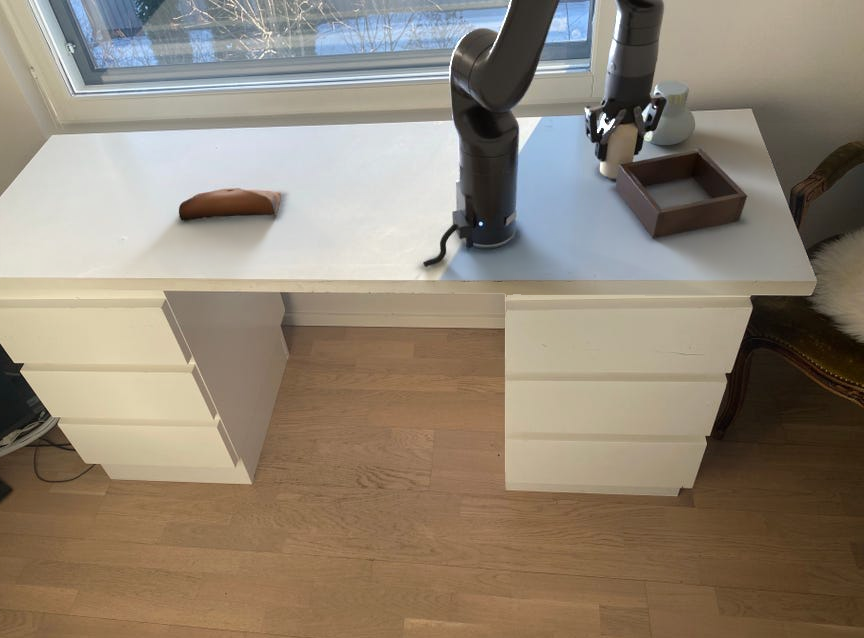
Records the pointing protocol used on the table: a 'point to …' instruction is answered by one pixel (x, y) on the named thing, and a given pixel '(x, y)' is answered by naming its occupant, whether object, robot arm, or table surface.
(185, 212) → the sunglasses case
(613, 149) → the candle
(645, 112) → the air freshener
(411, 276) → the table surface
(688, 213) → the walnut box
